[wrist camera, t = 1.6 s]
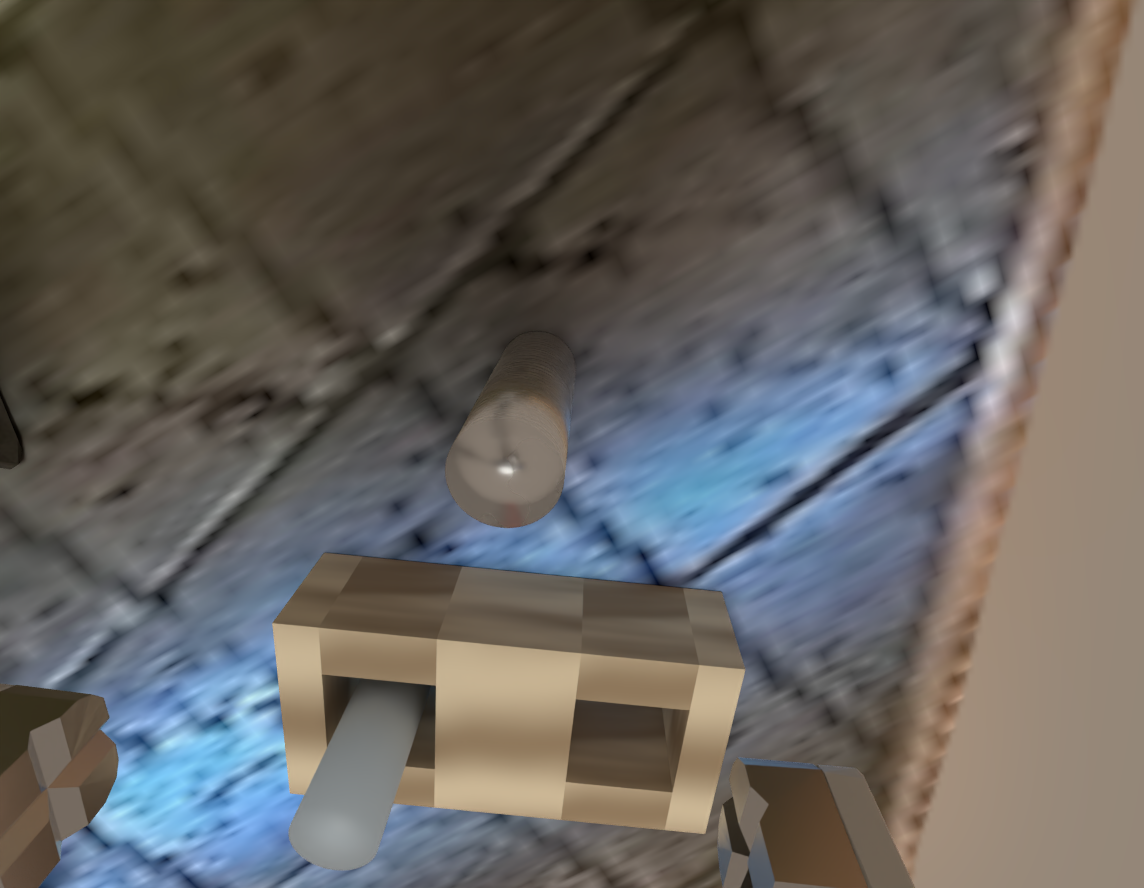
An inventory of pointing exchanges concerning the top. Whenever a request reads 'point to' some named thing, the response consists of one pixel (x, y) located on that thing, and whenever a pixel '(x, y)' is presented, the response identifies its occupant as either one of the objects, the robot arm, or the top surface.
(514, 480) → the steel peg
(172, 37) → the top surface
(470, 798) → the hole block
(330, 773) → the gray peg
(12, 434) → the figurine
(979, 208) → the top surface
